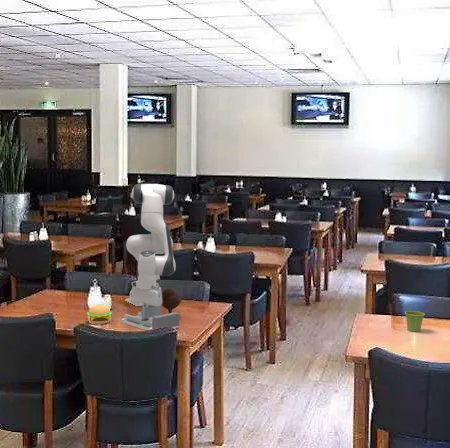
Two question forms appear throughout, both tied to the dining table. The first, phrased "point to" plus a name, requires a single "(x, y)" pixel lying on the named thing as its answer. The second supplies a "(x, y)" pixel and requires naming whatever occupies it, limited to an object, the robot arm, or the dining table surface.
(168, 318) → the grey mounting bracket
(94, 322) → the hamburger
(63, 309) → the dining table surface
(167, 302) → the ice cream bowl
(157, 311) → the gauge carriage
